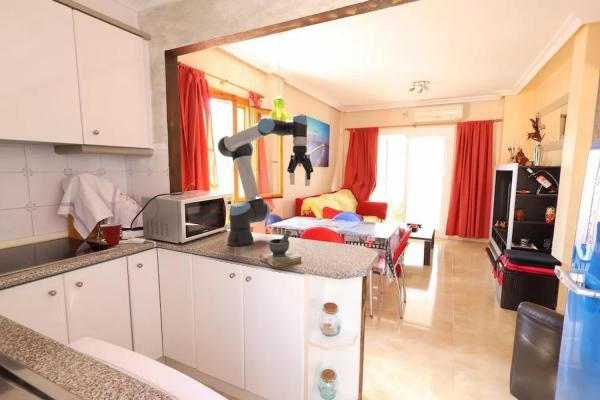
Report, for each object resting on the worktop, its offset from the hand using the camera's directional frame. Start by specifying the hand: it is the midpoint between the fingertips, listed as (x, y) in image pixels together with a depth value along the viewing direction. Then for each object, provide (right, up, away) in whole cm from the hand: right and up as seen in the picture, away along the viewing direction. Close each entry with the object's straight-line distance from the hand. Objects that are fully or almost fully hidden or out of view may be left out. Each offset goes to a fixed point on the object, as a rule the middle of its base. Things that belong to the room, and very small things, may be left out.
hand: (299, 185), depth 159 cm
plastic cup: (-107, -33, +8) cm, 112 cm away
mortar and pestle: (-9, -35, -19) cm, 41 cm away
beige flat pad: (-9, -37, -19) cm, 43 cm away
